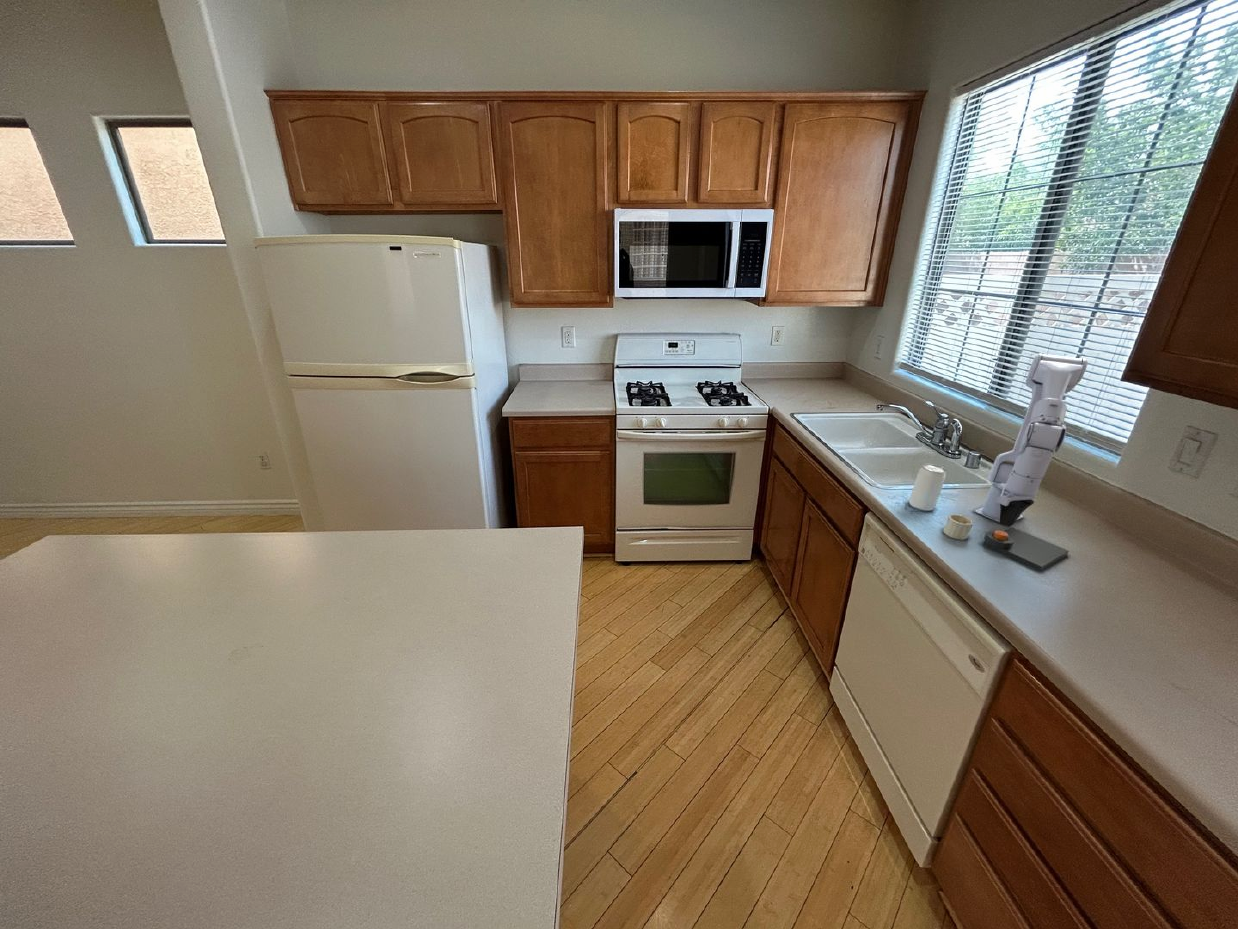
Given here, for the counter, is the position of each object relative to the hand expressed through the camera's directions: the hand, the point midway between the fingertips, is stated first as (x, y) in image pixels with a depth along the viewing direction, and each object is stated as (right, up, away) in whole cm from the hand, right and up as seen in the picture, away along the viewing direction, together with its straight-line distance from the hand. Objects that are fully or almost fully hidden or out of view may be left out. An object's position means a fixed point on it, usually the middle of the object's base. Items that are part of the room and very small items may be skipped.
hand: (1005, 524), depth 115 cm
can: (-7, +2, +21) cm, 22 cm away
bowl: (-7, -4, +8) cm, 11 cm away
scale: (+6, -7, +2) cm, 9 cm away
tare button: (0, -4, +2) cm, 4 cm away
